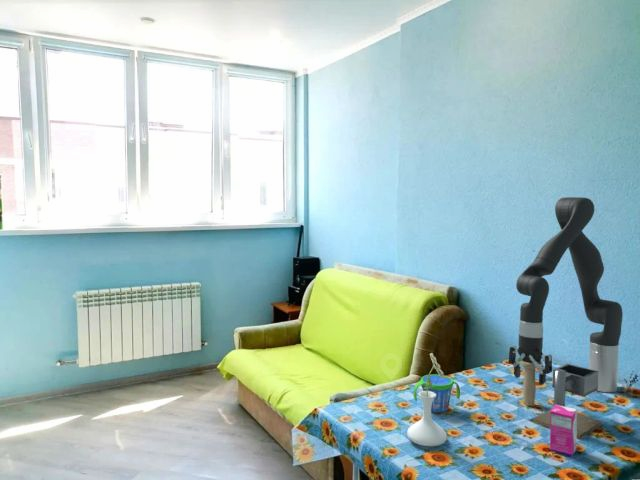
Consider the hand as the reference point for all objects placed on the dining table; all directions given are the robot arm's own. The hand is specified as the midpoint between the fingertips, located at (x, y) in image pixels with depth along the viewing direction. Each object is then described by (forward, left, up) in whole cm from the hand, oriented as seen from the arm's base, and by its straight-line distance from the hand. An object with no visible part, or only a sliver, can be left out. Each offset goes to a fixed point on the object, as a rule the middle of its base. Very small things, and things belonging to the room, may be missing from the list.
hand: (529, 380), depth 162 cm
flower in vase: (+47, -5, -9) cm, 48 cm away
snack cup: (+28, -17, -9) cm, 34 cm away
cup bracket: (+3, +15, -8) cm, 17 cm away
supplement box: (+22, +22, -9) cm, 32 cm away
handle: (0, 0, -9) cm, 9 cm away
